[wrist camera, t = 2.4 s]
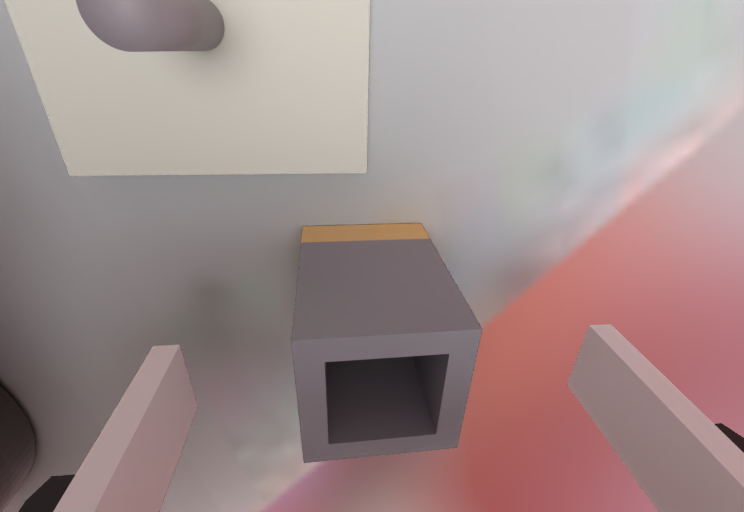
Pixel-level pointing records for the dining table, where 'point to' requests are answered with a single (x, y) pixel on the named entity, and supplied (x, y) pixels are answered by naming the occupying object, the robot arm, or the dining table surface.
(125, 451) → the robot arm
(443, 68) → the dining table surface
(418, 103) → the dining table surface
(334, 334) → the sleeve
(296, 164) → the pin board
